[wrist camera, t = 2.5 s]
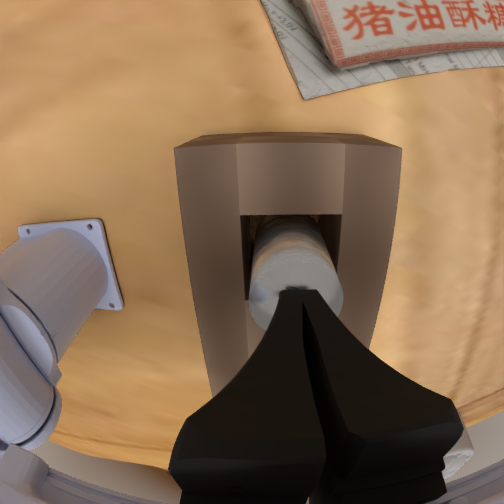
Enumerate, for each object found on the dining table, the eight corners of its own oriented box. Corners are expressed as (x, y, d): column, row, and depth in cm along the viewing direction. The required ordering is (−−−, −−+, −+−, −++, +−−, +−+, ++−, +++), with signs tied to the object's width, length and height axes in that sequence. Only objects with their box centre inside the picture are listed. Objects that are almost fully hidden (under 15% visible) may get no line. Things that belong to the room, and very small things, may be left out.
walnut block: (228, 383, 28) (221, 434, 22) (201, 135, 18) (173, 148, 12) (332, 381, 27) (341, 432, 22) (363, 134, 17) (401, 148, 12)
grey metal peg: (256, 269, 18) (250, 339, 12) (253, 209, 16) (246, 262, 11) (319, 268, 17) (337, 337, 12) (322, 208, 16) (348, 261, 11)
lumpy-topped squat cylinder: (386, 423, 31) (399, 481, 23) (470, 398, 30) (491, 446, 22) (374, 455, 36) (383, 503, 28) (448, 434, 34) (462, 476, 26)
